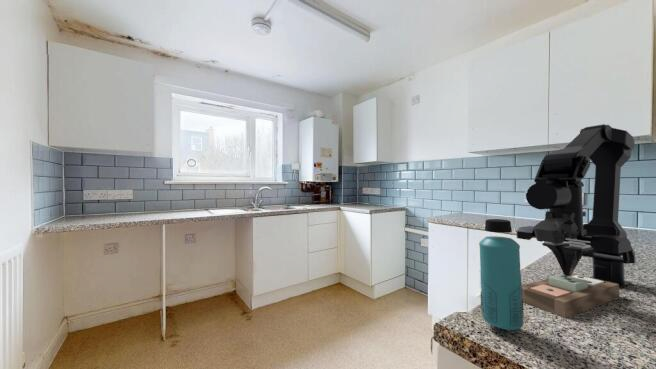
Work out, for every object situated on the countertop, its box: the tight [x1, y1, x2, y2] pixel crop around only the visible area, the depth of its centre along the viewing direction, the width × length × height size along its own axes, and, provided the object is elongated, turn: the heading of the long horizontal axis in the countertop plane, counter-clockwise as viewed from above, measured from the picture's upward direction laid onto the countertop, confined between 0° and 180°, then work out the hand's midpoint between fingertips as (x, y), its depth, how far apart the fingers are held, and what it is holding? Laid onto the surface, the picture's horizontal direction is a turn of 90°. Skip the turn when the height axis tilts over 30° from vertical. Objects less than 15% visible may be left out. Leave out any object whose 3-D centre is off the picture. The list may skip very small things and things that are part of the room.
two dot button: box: [571, 274, 604, 287], centre depth 63 cm, size 5×5×3 cm
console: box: [521, 272, 620, 319], centre depth 60 cm, size 22×9×3 cm, turn 113°
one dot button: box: [530, 284, 570, 298], centre depth 57 cm, size 5×5×3 cm
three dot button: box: [547, 273, 588, 292], centre depth 60 cm, size 5×5×3 cm
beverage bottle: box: [478, 218, 525, 331], centre depth 48 cm, size 6×7×20 cm
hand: (567, 275), depth 60 cm, fingers closed
